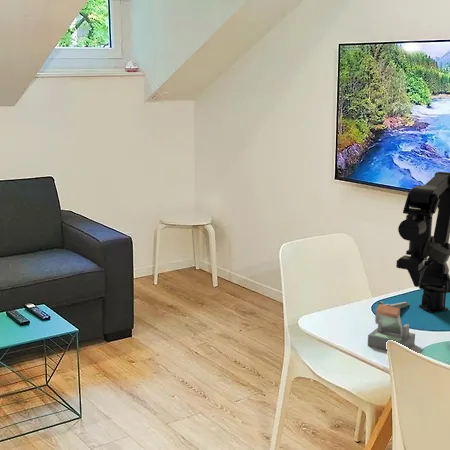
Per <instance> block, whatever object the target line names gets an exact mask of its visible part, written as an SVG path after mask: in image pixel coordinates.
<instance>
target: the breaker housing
mask: <svg viewBox="0 0 450 450" xmlns="http://www.w3.org/2000/svg"><path fill="white" fill-rule="evenodd" d="M388 340H393V341H396V342H398V343H400V344H402V345H404V346H406V347H408V348H410V349H411V348H412V347H413V346H415V341H416V333H413V332H410V324H407V323H405V324H404V325H402V334H401V335H399V334H394V333H390V332H386V331H383V328H382V324H381V321H380V320H379V321H378V323H377V328H375V329H374V330H373V331H371V332H370V333H369V334H368V335H367V347H372V348H375V349H376V348H377V349H380V350H384V351H387V350H386V342H387V341H388Z"/></svg>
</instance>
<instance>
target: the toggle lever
mask: <svg viewBox="0 0 450 450" xmlns="http://www.w3.org/2000/svg"><path fill="white" fill-rule="evenodd" d="M377 306H378V305H377ZM376 308H377V307H376ZM376 311H377V314H379V317H380V321H381V324H382V328H383V331H386V332H390V333H394V334H399V335H401V334H402V327H403V325H402V319H401V316H400V314H401V308H396V307H391V306H386V305H381V304H379V306H378V308H377V310H376V309H375V312H376Z"/></svg>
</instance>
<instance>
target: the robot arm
mask: <svg viewBox="0 0 450 450" xmlns="http://www.w3.org/2000/svg"><path fill="white" fill-rule="evenodd" d="M436 212H437V215H436V221H435V226H434V231H433V235H432V229H433V227H432V226H433V216H434V214H436ZM402 214H406V216H405V219H404V220H402V221H401V222H400V223H399V225H398V229H397V230H398V231H397V232H398V234H399V236H400V237H401V238H402V239H403V240H405V241H409V243H408V245H409V246H408V250H406V253H405V255H403V256H401V257H399V258H398V259H397V260H396V263H395V264H396V268H397V269H402V270H407V272H408V274H409V276H410V279H411V281H412V283H413V285H414V287H415V288H418V290H419V289H420V290H422V291H423V292H422V296H421V304H418V307H419V308H420V309H423V310H425V311H427V312H430V313H431V314H434V313H435V314H437V313H441V312H445V311H449V308H448V307H447V306H446V300H447V299H446V298H447V294H448V293H449V294H450V274H449V271H450V269H449V266H448V264H447V262H448V260H449V258H450V172H447V171H438V172H437V171H436V172H435V173H434V176H433V177H431V179H430V180H428V181H427V182H426V183H425V184H423V185H416V186H414V187H411V189H410V190H409V191H408V194H407V197H406V200H405V203H404V207H403V210H402Z"/></svg>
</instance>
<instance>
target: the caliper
mask: <svg viewBox="0 0 450 450" xmlns="http://www.w3.org/2000/svg"><path fill="white" fill-rule="evenodd" d="M379 304H381V305H386V306H391V307H396V308H400V309H404V308H406V307H408V306H410V304H409V303H408V302H407V301H402V302H396V303H391V304H390V303H385V302H383V301H378V303H377V306H376V309H375V316H374V317H375V318H374V319H375V321H374V322H375V323H377V324H378V321H379V320H380V317H379V314H377V311H376V310H377V308H378V306H379Z"/></svg>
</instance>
